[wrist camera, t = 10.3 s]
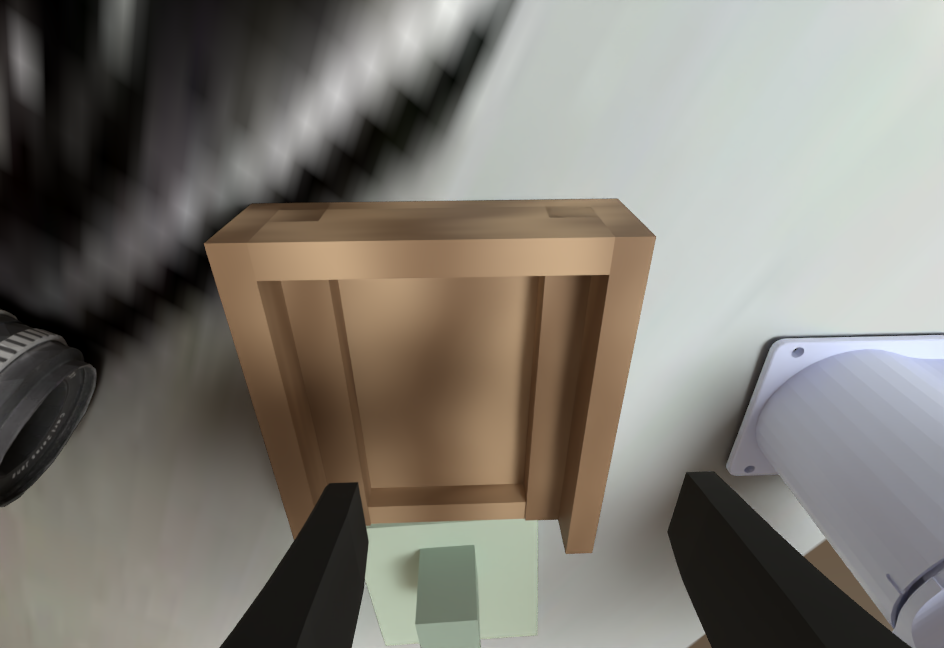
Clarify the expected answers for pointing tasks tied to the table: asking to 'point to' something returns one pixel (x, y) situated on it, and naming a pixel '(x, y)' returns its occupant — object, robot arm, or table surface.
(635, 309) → the box
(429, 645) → the lid
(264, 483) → the table surface
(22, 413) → the camera
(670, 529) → the robot arm
